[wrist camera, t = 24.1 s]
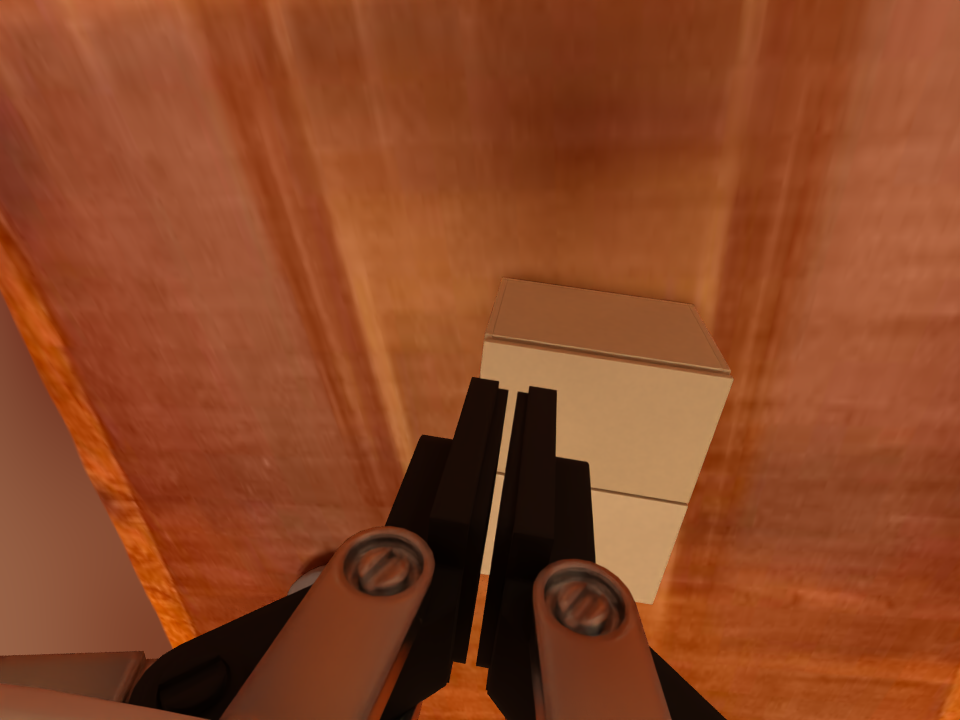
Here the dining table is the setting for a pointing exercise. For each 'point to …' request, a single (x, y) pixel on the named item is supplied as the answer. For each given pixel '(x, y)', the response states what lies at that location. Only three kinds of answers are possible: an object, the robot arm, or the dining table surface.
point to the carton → (624, 335)
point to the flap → (617, 414)
